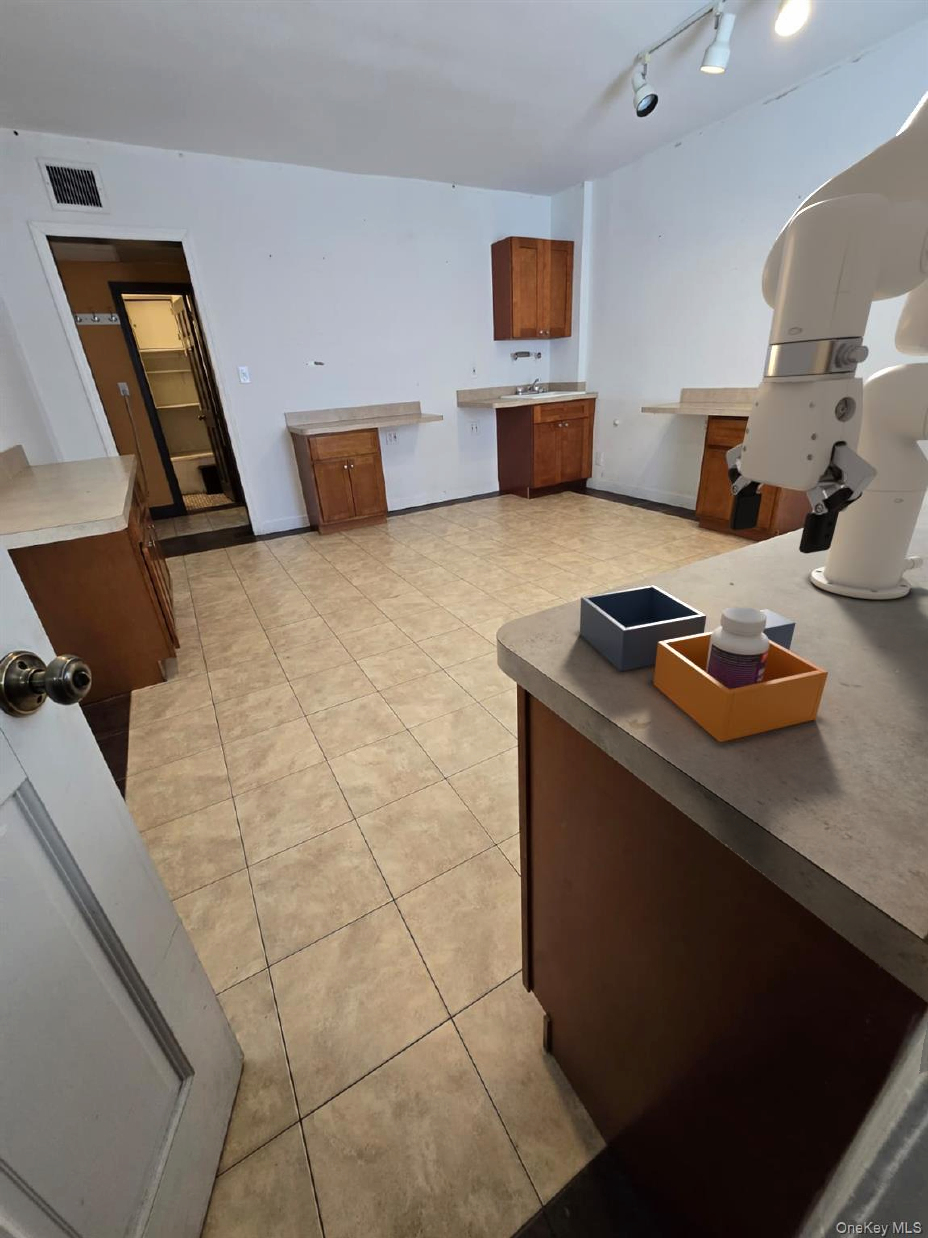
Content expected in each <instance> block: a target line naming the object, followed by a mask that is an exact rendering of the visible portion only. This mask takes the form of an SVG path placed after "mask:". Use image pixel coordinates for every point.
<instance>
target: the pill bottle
mask: <svg viewBox="0 0 928 1238" xmlns="http://www.w3.org/2000/svg"><path fill="white" fill-rule="evenodd" d="M766 620H767V616H766V615H765V614H764V613H763V612H761V611H759V610H758V609H756V608H753V607H746V606H731V607H727V608H724V609H723V610H722V612H721V616H720V622H719V623H720V626H717V627H716V628H715V629H713V632H712V631H711V632H712V634H711V638H710V644H709V651H708V658H707V664H706V671H705V672H706V673H707V674H709V675H710V676H711V677H713V678H714V679H716V680H717V681H718V682H720V683H721V684H722V685H724V686H725V687H727V688H728V689H729V690H730V689H734V688H739V687H744V686H748V685H753V684H757V683H762V680H763V675H764V670H765V665H766V660H767V655H768V650H769V639H768V637H767V636H766V635H765V634H764V633H763V631H764V629H765V626H766Z"/></svg>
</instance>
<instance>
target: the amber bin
mask: <svg viewBox="0 0 928 1238" xmlns="http://www.w3.org/2000/svg"><path fill="white" fill-rule="evenodd" d="M713 631H714V630H713ZM713 631H707V632H704V633H702V634H696V635H691V636H686V637H681V638H675V639H670V640H665V641H660V642H658V647H657V656H656V665H654V666H655V667H654V676H653V685H654V687H656V688H657V689H659V691H660V692H662V693H663V694H664V695H665V696H666V697H668V699H670V700H671V701H672V702H673V703H674V704H675V705H676V706H677V707H679V708H680V709H681V710H682V711H683V712H684V713H685V714H687V715H688V716H689V717H690V718H691V719H692V720H693V721H695V722H696V723H697V724H698V725H700V726H701V727H702V728H703V729H704V730H705V731H706V732H707V733H708V734H709V735H711V736H712V737H713V738H714V739H715V740H716V741H718V742H719V743H723V742H727V741H731V740H735V739H736V740H737V739H739V738H740V739H741V738H743V737H748V736H752V735H756V734H760V733H763V732H764V733H765V732H769V731H773V730H776V729H781V728H785V727H789V726H793V725H798V724H802V723H806V722H811V721H814V720H816V719H817V716H818V711H819V709H820V704H821V700H822V696H823V693H824V689H825V686H826V682H827V678H828V675H829V671H828V670H826V669H824V668H822V667H820V666H818V665H817V664H814V663H813V662H811V661H809V660H808V659H806V658H804V657H802V656H800V655H799V654H797V653H794V652H793V651H791V650H787V649H786V648H784V647H782V646H780V645H778V644H776V643H775V642H773V641H771V640H769V650H768V655H767V660H766V665H765V670H764V675H763V680H762V683H757V684H753V685H748V686H744V687H739V688H734V689H730V690H729V689H728V688H727V687H725V686H724V685H722V684H721V683H720V682H718V681H717V680H716V679H714V678H713V677H711V676H710V675H709V674H707V673H706V672H705V671H706V664H707V658H708V651H709V644H710V638H711V634H712V632H713Z"/></svg>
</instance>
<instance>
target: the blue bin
mask: <svg viewBox="0 0 928 1238" xmlns="http://www.w3.org/2000/svg"><path fill="white" fill-rule="evenodd" d="M579 614H580V615H579V634H580V636H581V637H583V638H584V639H585V640H586V641H587V642H588V643H589V644H590V645H591V646H593V647H594V649H596V650H597V651H598V652H599V653H600V654H601V655H602V656H603V657H604V658H606V659H607V660H608V661H609V662H610V663H611V664H612V665H613V666H614V667H615V668H616V669H618V671H619V672H625V671H631V670H635V669H641V668H646V667H650V666H656V656H657V647H658V642H660V641H665V640H670V639H675V638H681V637H686V636H691V635H696V634H702V633H705V629H706V622H707V615H706V614H704V613H703V612H701V611H699V610H698V609H696V608H694V607H692V606H690V605H689V604H688V603H686V602H684V601H682V600H680V599H679V598H677V597H675V596H673V595H671V594H670V593H668V592H666V591H664V590H662V589H661V588H659V587H658V586H656V585H653V584H652V585H648V586H641V587H635V588H628V589H623V590H617V591H610V592H605V593H598V594H592V595H586V596H580V613H579Z"/></svg>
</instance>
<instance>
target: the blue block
mask: <svg viewBox="0 0 928 1238" xmlns="http://www.w3.org/2000/svg"><path fill="white" fill-rule="evenodd" d="M759 611H761V612H763V613H764V614H765V615H766V616H767V620H766V626H765V629H764V631H763V633H764V634H765V635H766V636H767V637H768V639H769V640H771V641H773V642H775V643H776V644H778V645H780V646H782V647H784V648H786V649H787V650H789V651H791V650H790V649H791V645H792V640H793V636H794V632H795V629H796V621H793V620H791V619H789V618H787V617H785V616H782V615H780V614H778V613H777V612H774V611H772V610H770V609H769V608H765V609H760V610H759Z"/></svg>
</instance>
